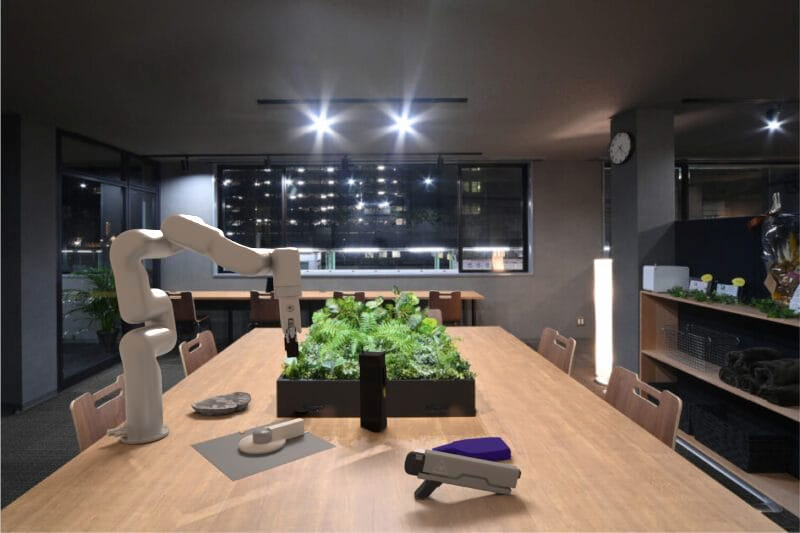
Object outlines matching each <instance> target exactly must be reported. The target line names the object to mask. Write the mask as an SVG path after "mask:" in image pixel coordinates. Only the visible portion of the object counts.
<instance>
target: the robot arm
mask: <svg viewBox="0 0 800 533" xmlns="http://www.w3.org/2000/svg"><path fill="white" fill-rule="evenodd" d="M114 238H115V239H114V240H113V241H112V243H111V245H110V249H109V262H110V265H111V269H112V273H113V277H114V283H115V290H116V296H117V298H116V299H117V302H118V310H119V315H120V317H121V319H122V320H123V321H124V322H125V323H127V324H130V325H132V324H133V325H134V324H135V325H136V324H142V323H144V325H145V326H142V327H137V328H135V329H132V330H130V331H128V332H126V333H125V334H124V335H123V336H122V338H121V340H120V341H119V348H118V350H119V355H120V358H121V359H120V360H121V362H122V368H123V376H124V400H125V401H124V402H125V403H124V404H125V406H124V407H125V422H124V421H123V423H122V425H120V426H119V427H117V428H111V429H107V431H106V435H107V437H108V438H110V437H114V438H118V437H120V441H121V442H122V443H124V444H128V445H134V444H135V445H139V444H146V443H151V442H155V441H158V440H160V439H163V438H165V437H166V436H167V435H168V434H170V427H169V426H168V425H166V424H164V410H163V409H164V406H163V380H162V378H163V377H162V371H161V366H160V365H159V364H160V363H159V362H158V361H157V357H160V356H163V355H165V354H167V353H169V352H170V351H172V350H173V349H174V348H175V346H176V345H177V344H176V343H177V340H178V339H177V338H178V336H177V334H178V333H177V327H176V320H175V315H174V308H173V302H172V301H171V300H172V299H171V298H170V297H169V295H168V294H167V293H166V291H164V290H162V289H159V288H151V286H150V280H149V274H148V272H147V269H146V267H145V266H144V264H143V263H142V261H143V260H145V259H146V260H148V259H150V260H151V259H155V260H156V259H164V258H168V257H171V256H174V255H175V254H179V253H182V252H183V251H185V250H189V251H191V252H194V253H196V254H198V255H200V256H204V257H205V258H208V259H209V260H210V261H212V262H213V263H214V264H216V265H217V266H220V267H221V268H223V269H225V270H228V271H231V272H233V273H235V274H238V275H241V276H244V277H249V278H251V277H258V276H259V277H260V276H267V275H272V279H273V284H272V285H273V297H274V298H273V299H274V300H278V305H279V317H280V326H281V330H282V333H283V335H284V337H283V341H284V351H285V352H286V358H287V359H292V358H298V357H300V349H299V348H300V346H299V341H298V334H301V333H302V332H303V331H302V321H301V320H302V319H301V318H302V317H301V306H300V300H299V298H302V297H303V292H302V290H303V289H302V288H303V287H302V276H301V275H302V273H301V259H300V258H301V256H300V250H299V249H297V248H296V247H280V248H279V247H278V248H275V249H271V248H252V247H248V246H245V245H242V244H239V243H237V242H236V241H232V240H231V239H228V238H227V237H226V236H225V234H224V231H223V230H221V229H219V228H216V227H214V226H212V225H209V224H206V222H205V221H204V220H203V219H201V218H200V217H198V216H194V215H190V214H180V213H176V214H175V213H174V214H170V215H169V216H167V217H165V218H164V219H163V221H162V222H161V224H160V229H159V230H158V229H157V230H156V229H146V228H138V229H137V228H135V229H129V230H125V231H123V232H122V233H120V234H119V235H117V236H116V237H114Z"/></svg>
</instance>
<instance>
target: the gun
mask: <svg viewBox="0 0 800 533" xmlns="http://www.w3.org/2000/svg"><path fill="white" fill-rule="evenodd" d="M428 449H429V448H426V450H425V453H420V452H414V450H413V451H412V450H411V451H409V452H408V453H407V454H406V455H405V456H406V457H405V459H404V465H403V468H404V472H405V473H406V474H407V475H409V476H416V478H417V480H423V481H422V483H421V484H420V485H419V486H418V488H416V489H415V491H414V492H413V496H414V498H416V499H421V500H427V499H429V497H430V496H431V495H432V493H434V492H435V491H436V490H437V489H438V488H440V487H441V486H442V485H443V484H446V485H451V486H455V487H462V488H467V489H474V490H478V491H483V492H488V493H494V494H501V495H504V496H505V495H506V496H511V494H512V489H516V488H517V485H518V481H519V479H521V476H522V471H521V469H520V468H518V467H517V466H516V465H513V464H507V463H502V462H498V461H495V462H492V461H487V460H481V459H476V458H471V457H465V456H460V455H455V454H449V453H444V452H439V451H433V450H428Z"/></svg>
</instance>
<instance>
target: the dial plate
mask: <svg viewBox="0 0 800 533" xmlns="http://www.w3.org/2000/svg"><path fill="white" fill-rule="evenodd" d="M287 421H288V420H286V419H281V420H278V421H273V422H270V423H267V424H266V423H265V424H263V425H260V426H259V425H258V426H256V427H253V428H249V429H244V430H239V431H238V432H234V433H229V434H225V435H223V436H219V437H215V438H212V439H208V440H204V441H201V442H197V443H193V444H190V446H191V448H193V449H194V450H195V451H196V452H198V453H199V454H200V455H201V456H202V457H204V458H205V459H206V460H208V462H209V463H211V464H212V465H213V466H214V467H216V469H218V470H219V471H220V472H221V473H223V474H224V475H225V476H226V477H228V478H229V479H230V481H232V482H234V481H238V480H240V479H241V480H242V479H244V478H247V477H250V476H253V475H255V474H259V473H262V472H265V471H268V470H270V469H273V468H276V467H280V466H282V465H286V464H288V463H291V462H294V461H297V460H300V459H303V458H306V457H308V456H311V455H315V454H317V453H320V452H323V451H327V450H330V449H334V448H335V447H337V445H335V444H333V443H331V442H330V441H327V440H325V439H323V438H321V437H319V436H317V435H316V434H313V433H311V432H310V431H308V430H306V429H304V434H303V435H300V436H297V437H293V438H290V439H287V440H286V444H285V445H284V446H283V447H282V448H281V449H279V450H276V451H274V452H270V453H265V454H246V453H243V452H241V451H240V450H239V442H240V440H241V439H243V438H244V437H246V436H249V435H252V434H253V431H254V430H257V429H261V428H267V427H269V426H272V425H276V424H280V423H283V422H287Z"/></svg>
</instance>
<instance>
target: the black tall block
mask: <svg viewBox="0 0 800 533" xmlns="http://www.w3.org/2000/svg"><path fill="white" fill-rule="evenodd" d="M358 366H359V399H360V400H359V401H360V403H359V404H360V405H359V408H360V410H359V411H360V414H359V417H360V418H359V421H360V422H359V426H360V428H362V429H364V430H366V431H369V432H372V433H373V432H374V433H381V432H382V431H384V430H385V429H386V427H388V414H387V413H388V412H387V386H388V384H389V383H388V372H387V370H388V369H387V365H386V352H385V351H368V350H367V351H366V350H364V344H361V352H360V353H359V354H358Z"/></svg>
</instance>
